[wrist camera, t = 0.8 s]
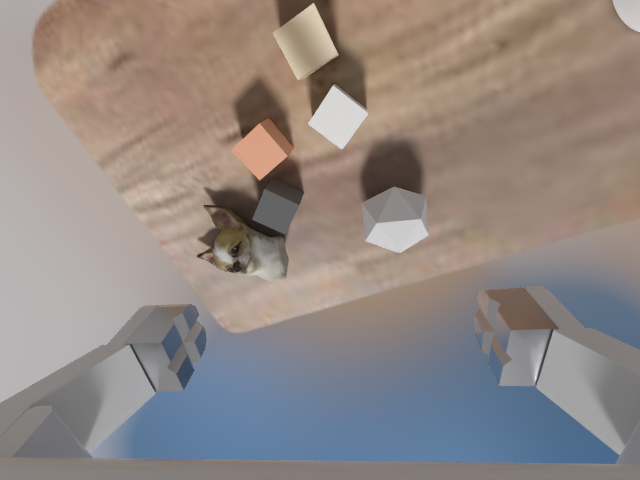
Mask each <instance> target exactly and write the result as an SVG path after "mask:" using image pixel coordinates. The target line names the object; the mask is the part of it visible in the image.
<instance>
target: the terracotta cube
mask: <svg viewBox="0 0 640 480" xmlns="http://www.w3.org/2000/svg"><path fill="white" fill-rule="evenodd" d="M293 149H294V147H293V146H292V145H291V144H290V142H289V141H288V140H287V139H286V138H285V136H284V135H283V134H282V133H281V132H280V130H279V129H278V128H277V127H276V126H275V125H274V123H273V122H272V121H271V120H270V119H269V118H268V119H266V120H264V121H262V122H261V123H259V124H258V125H257V126H256V127H255V128H254V129H253V130H252V131H251V132H250V133H249V134H248V135H247V136H246V137H245V138H243V139H242V140H241V141H240V142H239V143H238V144H237V145H236V146H235V147H234V148H233V149H232V151H233V152H234V153H235V154H236V155H237V157H238V158H239V159H240V160H241V161H242V162H243V163H244V164H245V165H246V166H247V167H248V168H249V170H250V171H251V172H252V173H253V174H254V175H255V176H256V177H257V178H258V179H259V180H261V179H262V178H263V177H264V176H265V175H267V174H268V173H269V172H270V171H271V170H272V169H274V168H275V167H276V166H277V165H278V164H279V163H280V162H282V161H283V160H284V159H285V158H286V157H287V156H288V155H289V154H290V152H291V151H292V150H293Z"/></svg>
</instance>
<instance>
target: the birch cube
mask: <svg viewBox="0 0 640 480" xmlns="http://www.w3.org/2000/svg"><path fill="white" fill-rule="evenodd" d="M273 35H274V36H275V38H276V40H277V42H278V44H279V46H280V48H281V50H282V51H283V53H284V55H285V57H286V59H287V61H288V63H289V64H290V66H291V68H292V70H293V72H294V74H295V76H296V77H297V79H298V80H300V79H304V78H306V77H307V76H309V75H310V74H312V73H313V72H315V71H316V70H318V69H320V68H321V67H323V66H324V65H326V64H327V63H329V62H330V61H332V60H333V59H335V58H336V57H338V56H339V54H338V52H337V50H336V48H335V46H334V43H333V41H332V39H331V37H330V35H329V33H328V31H327V29H326V26H325V24H324V22H323V20H322V18H321V16H320V14H319V12H318V10H317V8H316V6H315V4H314V3H313V4H311V5H310V6H309V7H307V8H306V9H305V10H303V11H302V12H301V13H299V14H298V15H297V16H295V17H294V18H293V19H291V20H290V21H288V22H287V23H286V24H284V25H283V26H282V27H280V28H279V29H278V30H276V31H275V32H274V33H273Z"/></svg>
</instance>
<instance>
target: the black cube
mask: <svg viewBox="0 0 640 480" xmlns="http://www.w3.org/2000/svg"><path fill="white" fill-rule="evenodd" d="M303 194H304V192H302V191H300V190H298V189H296V188H293V187H291V186H289V185H287V184H285V183H283V182H281V181H279V180H277V179H274V178H272V179H271V181H270V182H269V183H268V185H267V186H266V187H265V189H264V191H263V194H262V196H261V199H260V201H259V204H258V206H257V209H256V211H255V214H254V216H253V219H252V220H254V221H256V222H258V223H261V224H263V225H265V226H267V227H269V228H272V229H274V230H276V231H278V232H281V233H283V234H286V232H287V230H288V228H289V226H290V223H291V221H292V219H293V217H294V215H295V213H296V211H297V209H298V206H299V204H300V202H301V199H302V196H303Z"/></svg>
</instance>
